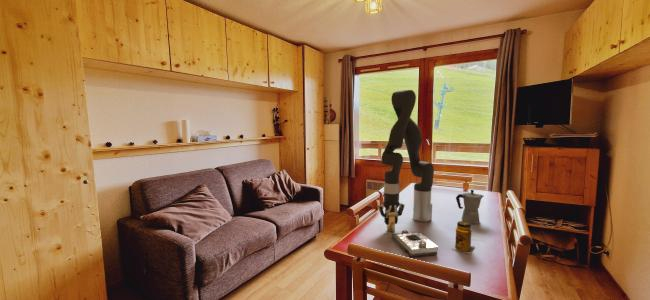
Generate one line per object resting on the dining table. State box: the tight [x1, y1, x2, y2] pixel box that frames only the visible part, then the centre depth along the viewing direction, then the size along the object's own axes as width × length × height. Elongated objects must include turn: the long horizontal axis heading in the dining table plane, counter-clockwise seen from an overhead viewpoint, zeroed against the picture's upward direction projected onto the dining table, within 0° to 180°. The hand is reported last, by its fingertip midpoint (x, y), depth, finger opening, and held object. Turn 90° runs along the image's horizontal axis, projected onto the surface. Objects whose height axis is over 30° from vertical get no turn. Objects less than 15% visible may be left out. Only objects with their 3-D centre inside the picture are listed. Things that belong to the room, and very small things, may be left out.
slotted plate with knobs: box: [391, 229, 439, 258], centre depth 123 cm, size 12×20×6 cm, turn 10°
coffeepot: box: [455, 189, 484, 225], centre depth 152 cm, size 15×9×18 cm, turn 92°
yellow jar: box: [452, 220, 475, 255], centre depth 120 cm, size 7×8×12 cm
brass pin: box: [386, 211, 396, 232], centre depth 140 cm, size 5×5×10 cm
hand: (390, 223), depth 140 cm, fingers closed on brass pin, 4 cm apart
